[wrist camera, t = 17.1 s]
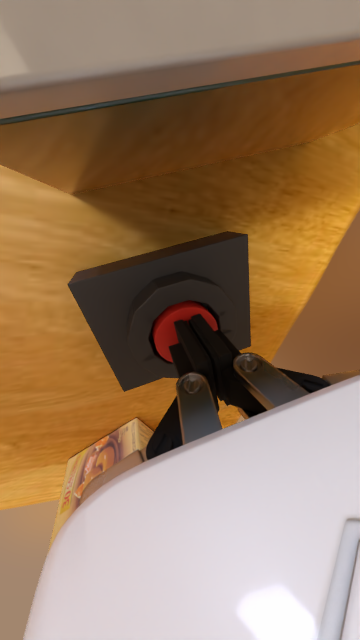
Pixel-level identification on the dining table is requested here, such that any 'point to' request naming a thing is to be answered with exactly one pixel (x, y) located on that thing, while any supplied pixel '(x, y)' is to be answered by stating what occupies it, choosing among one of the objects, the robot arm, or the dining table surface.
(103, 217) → the dining table surface
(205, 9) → the grey box lid
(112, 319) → the switch block
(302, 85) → the lidded box
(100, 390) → the dining table surface
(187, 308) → the button
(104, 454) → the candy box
